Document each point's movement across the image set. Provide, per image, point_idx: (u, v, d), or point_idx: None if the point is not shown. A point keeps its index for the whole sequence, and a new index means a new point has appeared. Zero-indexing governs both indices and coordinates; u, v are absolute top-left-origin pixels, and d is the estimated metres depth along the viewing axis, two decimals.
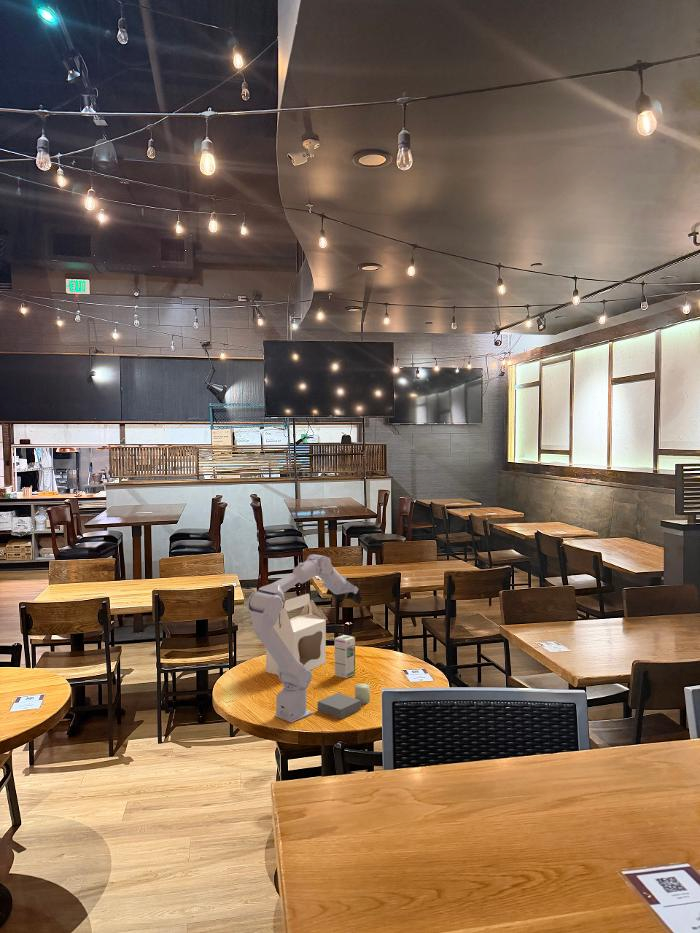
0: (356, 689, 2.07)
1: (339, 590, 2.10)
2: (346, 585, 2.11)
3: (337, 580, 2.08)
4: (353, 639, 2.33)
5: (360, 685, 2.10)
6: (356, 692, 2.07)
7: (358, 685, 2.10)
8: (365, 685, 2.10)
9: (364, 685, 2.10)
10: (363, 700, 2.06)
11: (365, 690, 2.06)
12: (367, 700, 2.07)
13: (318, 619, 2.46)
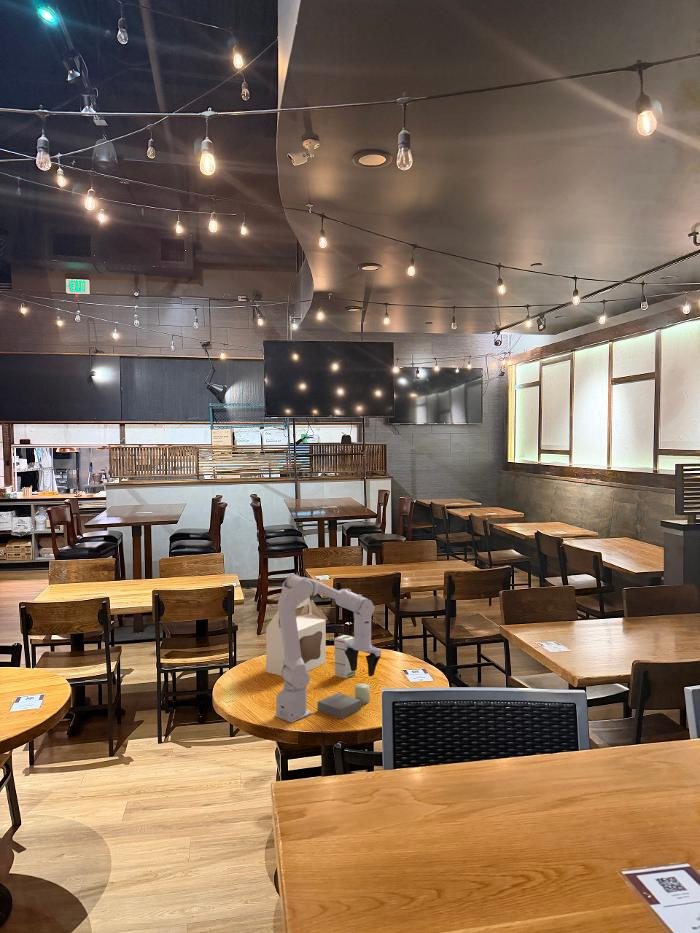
0: (356, 689, 2.07)
1: (363, 646, 2.06)
2: (370, 647, 2.07)
3: (365, 634, 2.06)
4: (353, 639, 2.33)
5: (360, 685, 2.10)
6: (356, 692, 2.07)
7: (358, 685, 2.10)
8: (365, 685, 2.10)
9: (364, 685, 2.10)
10: (363, 700, 2.06)
11: (365, 690, 2.06)
12: (367, 700, 2.07)
13: (318, 619, 2.46)
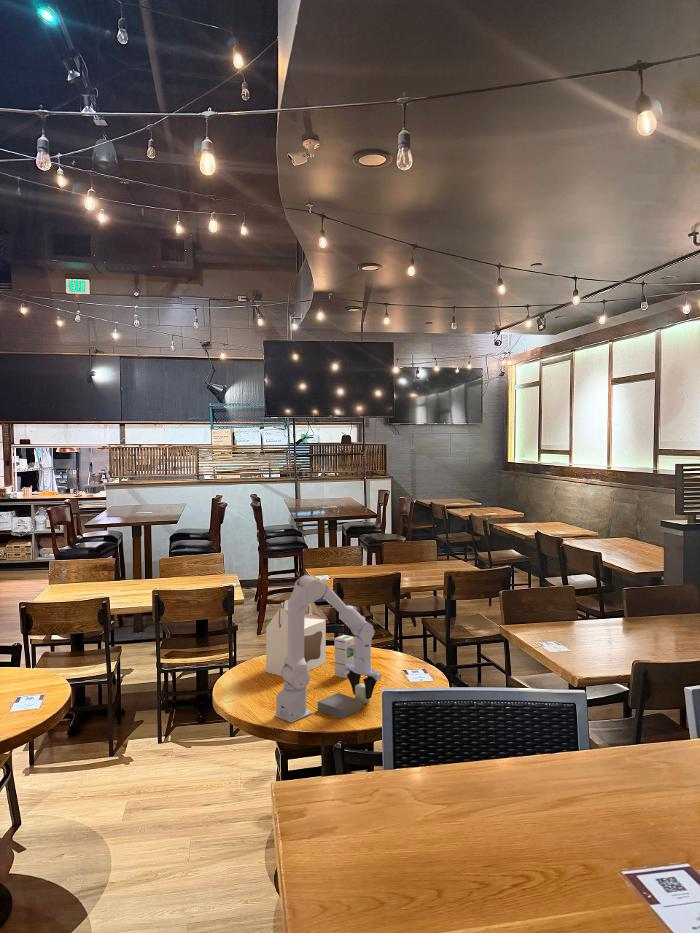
0: (356, 689, 2.07)
1: (363, 669, 2.06)
2: (370, 671, 2.07)
3: (365, 657, 2.06)
4: (353, 639, 2.33)
5: (360, 685, 2.10)
6: (356, 692, 2.07)
7: (358, 685, 2.10)
8: None
9: (364, 685, 2.10)
10: (363, 700, 2.06)
11: None
12: (367, 700, 2.07)
13: (318, 619, 2.46)
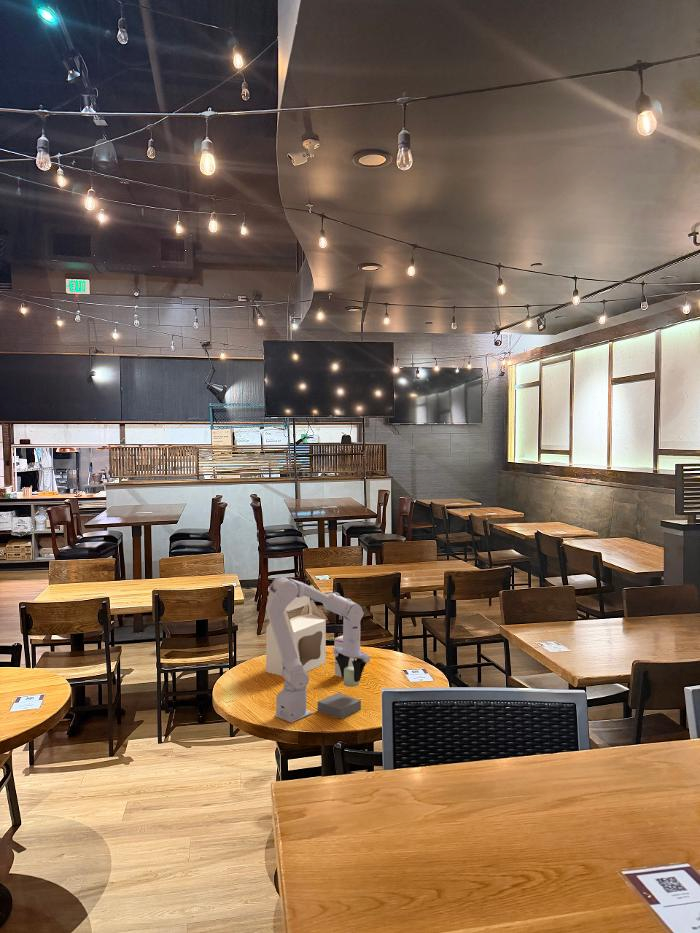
0: (345, 672, 2.03)
1: (352, 652, 2.02)
2: (359, 653, 2.03)
3: (353, 639, 2.02)
4: None
5: (349, 668, 2.06)
6: (345, 675, 2.04)
7: (347, 668, 2.06)
8: None
9: (353, 668, 2.06)
10: (352, 683, 2.03)
11: (353, 672, 2.03)
12: (356, 683, 2.03)
13: (318, 619, 2.46)
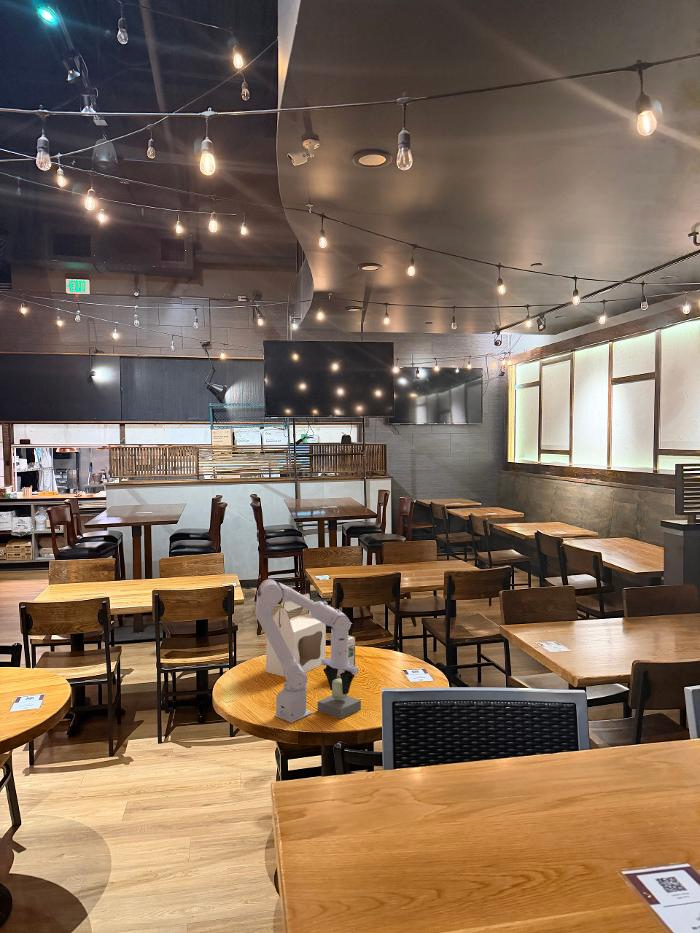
0: (333, 684, 1.99)
1: (339, 664, 1.98)
2: (347, 665, 1.99)
3: (340, 651, 1.98)
4: (353, 639, 2.33)
5: (337, 680, 2.02)
6: (333, 687, 2.00)
7: (335, 680, 2.02)
8: None
9: None
10: (340, 695, 1.99)
11: None
12: (344, 695, 1.99)
13: None
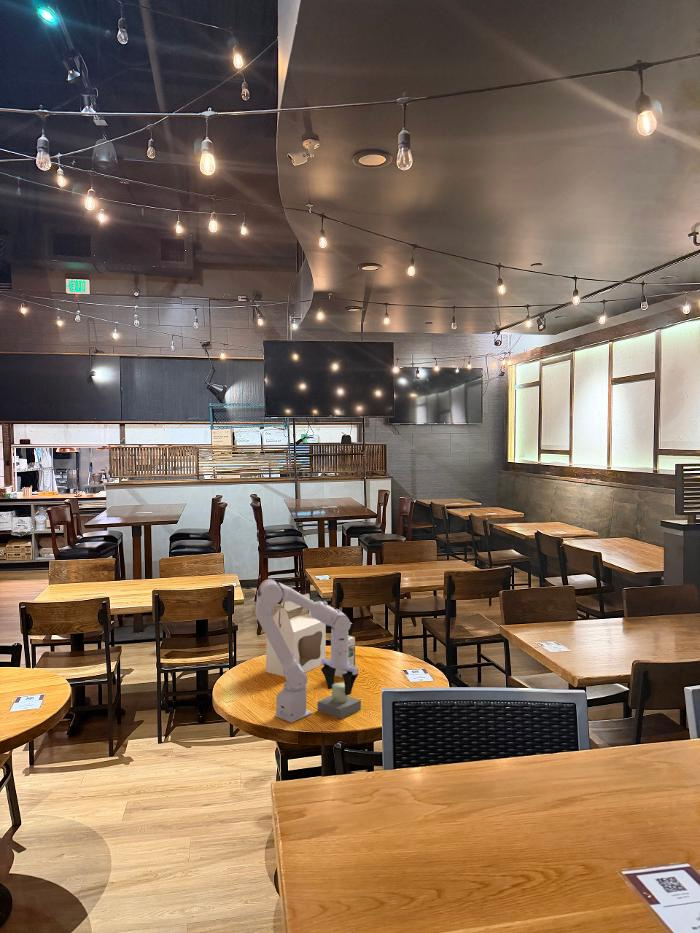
0: (333, 689, 1.99)
1: (339, 664, 1.98)
2: (347, 665, 1.99)
3: (340, 651, 1.98)
4: (353, 639, 2.33)
5: (337, 684, 2.02)
6: (333, 691, 2.00)
7: (335, 684, 2.02)
8: (342, 684, 2.02)
9: (342, 684, 2.02)
10: (340, 699, 1.99)
11: (342, 689, 1.99)
12: (344, 700, 1.99)
13: None
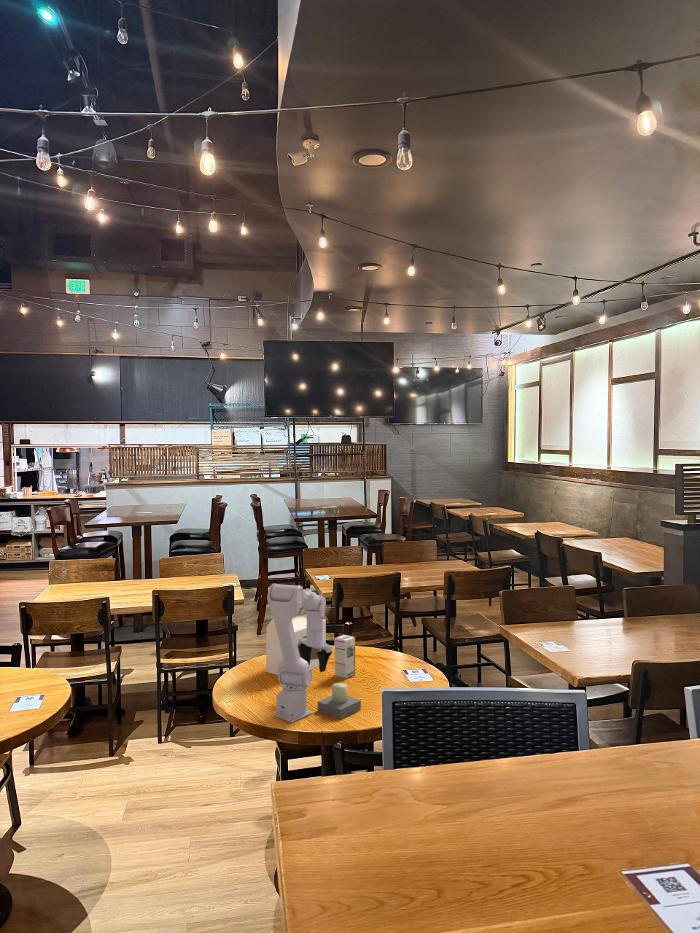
0: (333, 689, 1.99)
1: (314, 642, 2.10)
2: (322, 644, 2.11)
3: (321, 629, 2.11)
4: (353, 639, 2.33)
5: (337, 684, 2.02)
6: (333, 691, 2.00)
7: (335, 684, 2.02)
8: (342, 684, 2.02)
9: (342, 684, 2.02)
10: (340, 699, 1.99)
11: (342, 689, 1.99)
12: (344, 700, 1.99)
13: None
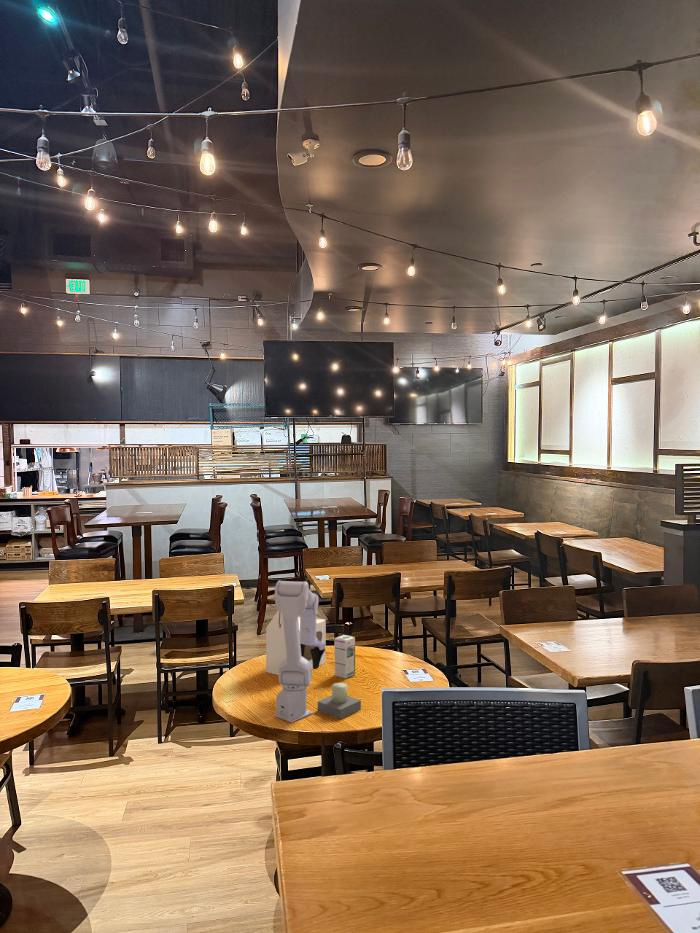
0: (333, 689, 1.99)
1: (308, 640, 2.13)
2: (315, 641, 2.14)
3: (315, 627, 2.15)
4: (353, 639, 2.33)
5: (337, 684, 2.02)
6: (333, 691, 2.00)
7: (335, 684, 2.02)
8: (342, 684, 2.02)
9: (342, 684, 2.02)
10: (340, 699, 1.99)
11: (342, 689, 1.99)
12: (344, 700, 1.99)
13: (318, 619, 2.46)
